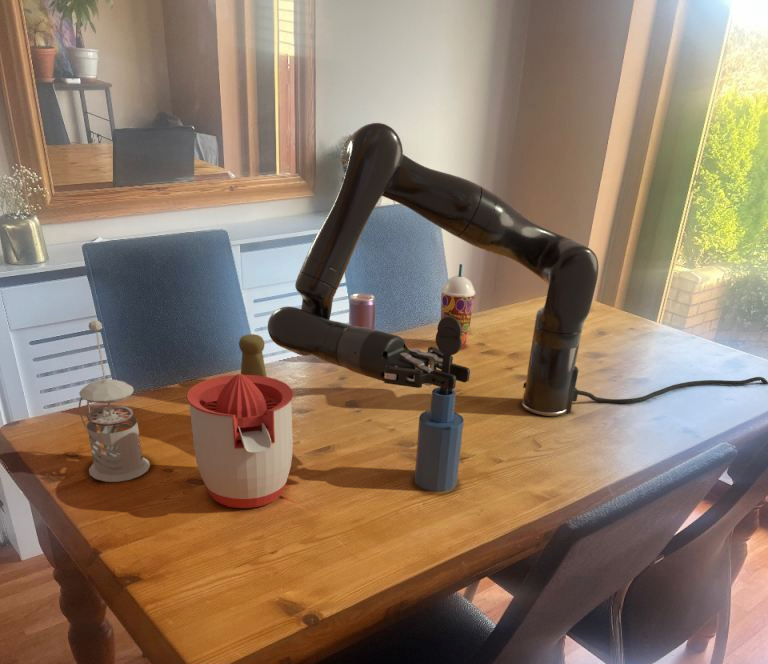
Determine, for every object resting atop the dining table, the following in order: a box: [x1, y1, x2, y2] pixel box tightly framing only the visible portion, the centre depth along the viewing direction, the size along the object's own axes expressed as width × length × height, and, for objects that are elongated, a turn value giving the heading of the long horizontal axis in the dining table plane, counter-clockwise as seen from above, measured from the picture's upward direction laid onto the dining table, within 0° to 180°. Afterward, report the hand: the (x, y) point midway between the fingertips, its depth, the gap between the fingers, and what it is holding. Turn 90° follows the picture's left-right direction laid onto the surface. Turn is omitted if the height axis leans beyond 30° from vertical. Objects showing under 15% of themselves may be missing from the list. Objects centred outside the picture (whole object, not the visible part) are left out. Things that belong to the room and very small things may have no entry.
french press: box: [78, 319, 151, 483], centre depth 115 cm, size 10×12×25 cm
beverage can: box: [348, 293, 376, 330], centre depth 166 cm, size 6×6×15 cm
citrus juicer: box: [186, 373, 294, 509], centre depth 110 cm, size 16×17×20 cm
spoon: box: [435, 316, 462, 395], centre depth 113 cm, size 1×4×28 cm, turn 53°
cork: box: [238, 333, 268, 377], centre depth 151 cm, size 6×6×11 cm
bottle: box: [414, 387, 465, 493], centre depth 116 cm, size 7×7×16 cm
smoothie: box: [440, 263, 477, 349], centre depth 177 cm, size 8×8×20 cm
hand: (461, 379), depth 109 cm, fingers open, 3 cm apart
